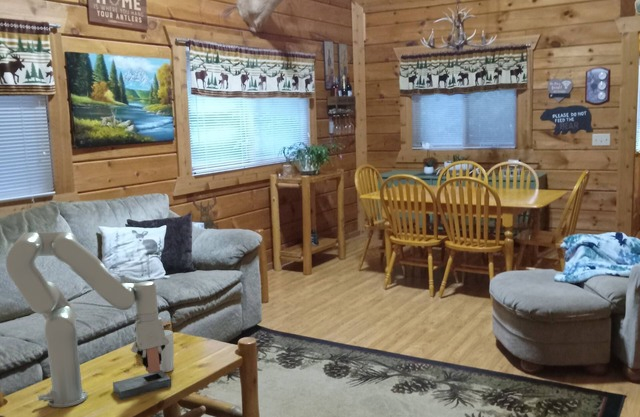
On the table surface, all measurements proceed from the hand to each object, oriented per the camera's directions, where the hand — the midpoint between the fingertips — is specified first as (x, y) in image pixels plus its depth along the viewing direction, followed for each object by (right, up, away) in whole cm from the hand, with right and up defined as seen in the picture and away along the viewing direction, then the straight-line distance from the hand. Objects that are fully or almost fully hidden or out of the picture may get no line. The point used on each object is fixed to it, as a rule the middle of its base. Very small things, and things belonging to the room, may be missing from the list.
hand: (152, 364), depth 226 cm
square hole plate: (-3, -8, -1) cm, 9 cm away
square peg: (0, -2, 0) cm, 2 cm away
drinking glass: (+2, -6, +15) cm, 16 cm away
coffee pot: (-6, -4, +32) cm, 33 cm away
